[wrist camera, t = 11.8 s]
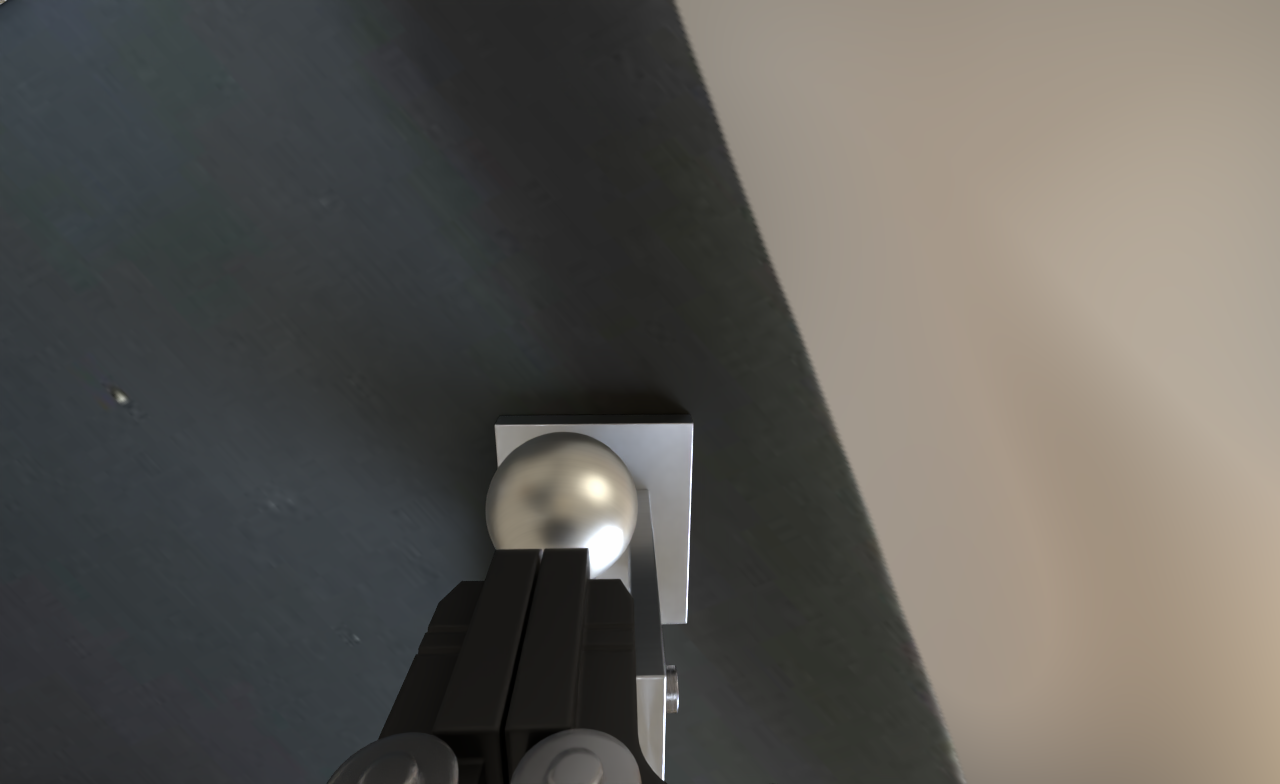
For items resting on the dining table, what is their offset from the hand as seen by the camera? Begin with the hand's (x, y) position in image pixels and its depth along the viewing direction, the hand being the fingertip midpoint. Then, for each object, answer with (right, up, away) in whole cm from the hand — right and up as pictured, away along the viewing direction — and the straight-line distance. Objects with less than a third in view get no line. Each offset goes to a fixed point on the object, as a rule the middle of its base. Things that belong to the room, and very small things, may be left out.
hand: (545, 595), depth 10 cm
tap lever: (0, -2, +7) cm, 8 cm away
